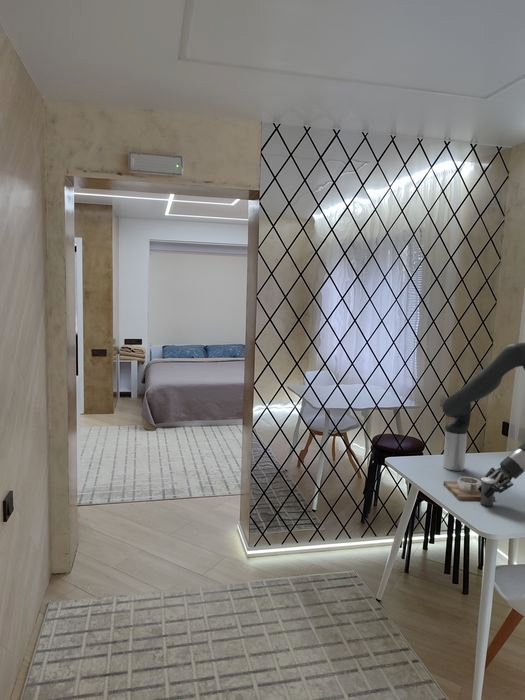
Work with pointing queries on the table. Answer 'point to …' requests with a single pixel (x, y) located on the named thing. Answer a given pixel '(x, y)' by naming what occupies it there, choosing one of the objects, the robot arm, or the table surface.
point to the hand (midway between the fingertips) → (482, 493)
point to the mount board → (461, 492)
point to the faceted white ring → (468, 484)
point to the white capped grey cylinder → (485, 486)
